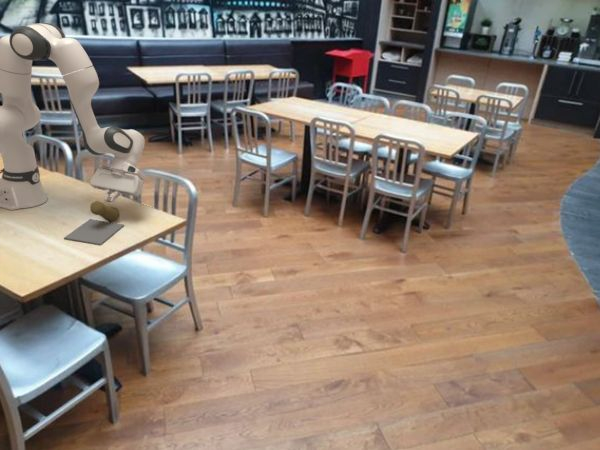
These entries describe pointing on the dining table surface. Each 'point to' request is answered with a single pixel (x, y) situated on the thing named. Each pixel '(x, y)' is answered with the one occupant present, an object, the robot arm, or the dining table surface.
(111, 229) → the rubber mat
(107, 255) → the dining table surface
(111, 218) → the cork
